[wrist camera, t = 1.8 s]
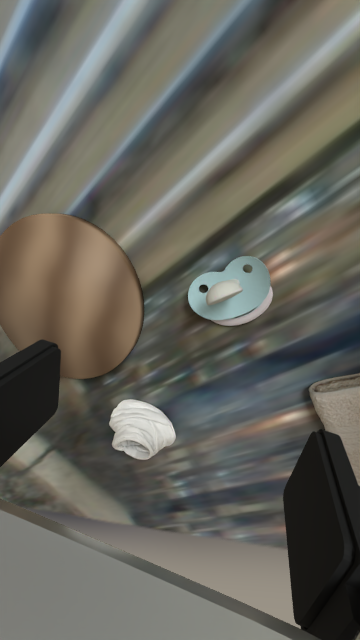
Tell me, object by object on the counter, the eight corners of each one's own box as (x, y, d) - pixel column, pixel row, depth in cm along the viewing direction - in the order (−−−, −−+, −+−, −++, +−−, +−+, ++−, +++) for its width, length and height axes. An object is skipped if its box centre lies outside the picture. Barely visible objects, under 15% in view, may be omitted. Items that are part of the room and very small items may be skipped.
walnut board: (157, 236, 28) (152, 237, 26) (131, 391, 35) (126, 399, 33) (-5, 196, 31) (-17, 195, 29) (1, 346, 38) (-9, 351, 36)
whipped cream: (182, 406, 35) (174, 431, 30) (174, 452, 37) (165, 483, 32) (117, 391, 36) (100, 414, 31) (113, 437, 38) (96, 465, 33)
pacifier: (284, 305, 27) (258, 245, 26) (291, 332, 21) (258, 257, 20) (213, 333, 30) (186, 280, 28) (202, 363, 24) (168, 299, 23)
